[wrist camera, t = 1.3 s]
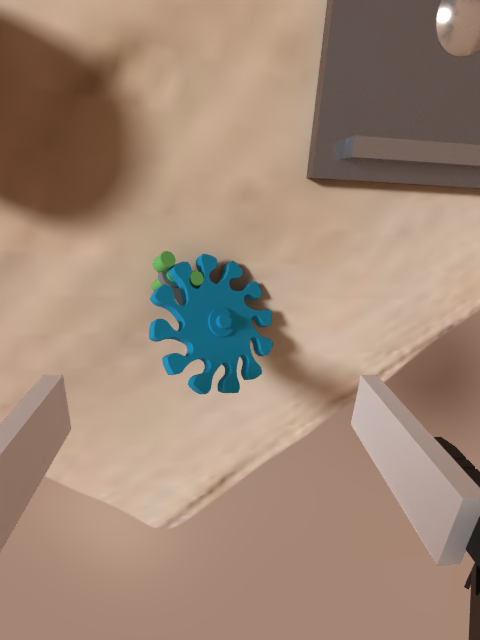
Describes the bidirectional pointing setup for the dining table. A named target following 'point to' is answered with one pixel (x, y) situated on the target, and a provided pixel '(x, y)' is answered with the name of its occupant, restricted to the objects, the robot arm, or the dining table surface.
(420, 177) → the board
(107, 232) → the dining table surface
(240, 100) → the dining table surface
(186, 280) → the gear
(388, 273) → the dining table surface
